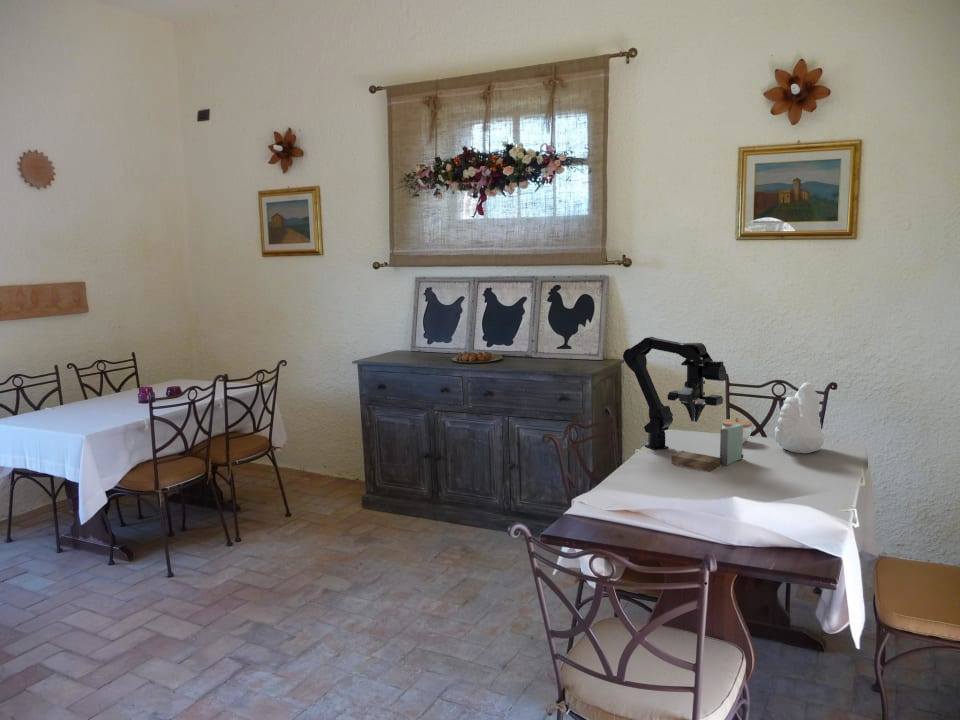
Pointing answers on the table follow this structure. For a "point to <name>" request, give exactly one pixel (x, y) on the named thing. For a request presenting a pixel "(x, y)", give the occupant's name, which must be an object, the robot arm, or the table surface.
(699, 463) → the stool seat
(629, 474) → the table surface
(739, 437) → the green rectangular panel
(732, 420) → the lidded jar
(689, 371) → the robot arm
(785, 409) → the decorative rooster
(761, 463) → the table surface
